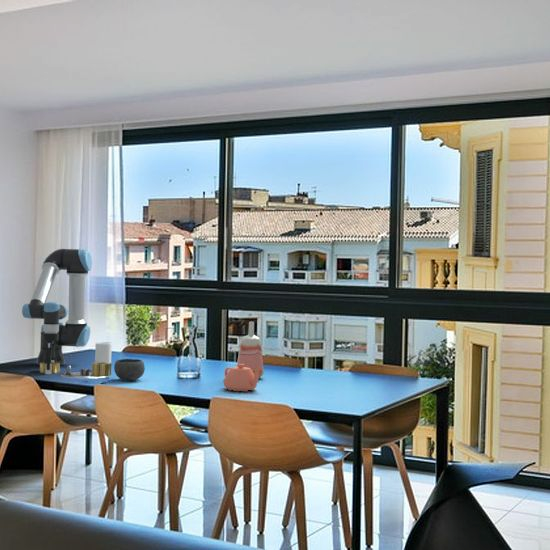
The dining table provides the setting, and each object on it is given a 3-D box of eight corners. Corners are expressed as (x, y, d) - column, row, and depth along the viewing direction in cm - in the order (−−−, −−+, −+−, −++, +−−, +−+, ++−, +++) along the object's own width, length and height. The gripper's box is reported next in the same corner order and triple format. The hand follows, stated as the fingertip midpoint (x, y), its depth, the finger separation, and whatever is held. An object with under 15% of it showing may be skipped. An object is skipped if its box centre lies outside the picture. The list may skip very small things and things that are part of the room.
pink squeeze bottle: (246, 375, 423) (248, 320, 422) (268, 378, 414) (270, 322, 414) (230, 378, 411) (232, 321, 410) (252, 381, 402) (254, 323, 402)
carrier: (62, 374, 403) (62, 362, 403) (110, 374, 407) (110, 363, 407) (57, 381, 380) (57, 369, 380) (108, 381, 384) (108, 369, 384)
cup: (106, 374, 407) (107, 344, 407) (92, 373, 408) (93, 343, 408) (113, 372, 415) (114, 342, 415) (98, 371, 416) (99, 341, 416)
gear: (41, 373, 403) (41, 361, 403) (60, 373, 405) (60, 362, 405) (38, 376, 394) (39, 364, 394) (58, 376, 395) (58, 364, 395)
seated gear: (90, 374, 398) (90, 362, 397) (109, 373, 401) (109, 361, 401) (92, 376, 389) (93, 364, 388) (112, 376, 392) (112, 364, 392)
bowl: (144, 382, 385) (145, 362, 385) (113, 382, 383) (113, 362, 383) (144, 378, 400) (144, 358, 400) (114, 377, 397) (115, 358, 397)
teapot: (270, 391, 373) (271, 365, 373) (251, 395, 360) (252, 368, 360) (232, 385, 385) (233, 360, 385) (213, 389, 372) (214, 363, 372)
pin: (66, 374, 393) (66, 365, 393) (70, 374, 393) (71, 365, 393) (65, 375, 391) (66, 366, 391) (70, 375, 391) (70, 366, 391)
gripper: (46, 330, 410) (44, 371, 411) (40, 334, 386) (38, 378, 387) (61, 330, 412) (59, 371, 412) (56, 334, 388) (54, 378, 388)
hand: (49, 374), depth 399 cm, fingers open, 12 cm apart
